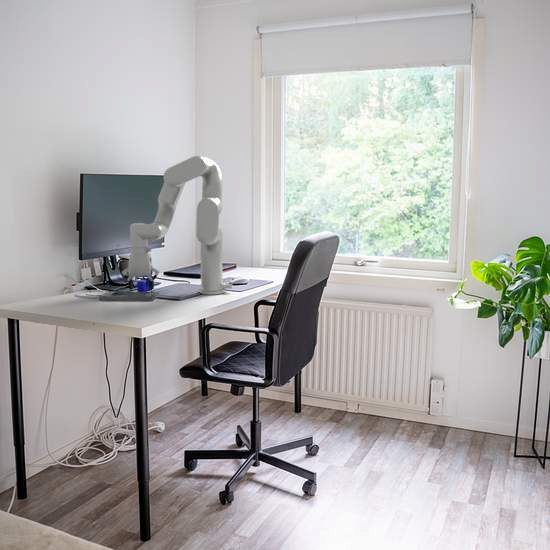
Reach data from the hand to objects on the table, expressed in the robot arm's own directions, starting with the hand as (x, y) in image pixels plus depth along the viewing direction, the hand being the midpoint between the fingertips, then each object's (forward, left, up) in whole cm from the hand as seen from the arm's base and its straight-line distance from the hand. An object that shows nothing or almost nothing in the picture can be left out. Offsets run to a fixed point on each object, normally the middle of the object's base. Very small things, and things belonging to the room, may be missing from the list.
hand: (141, 289), depth 288 cm
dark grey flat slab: (+1, +14, -1) cm, 14 cm away
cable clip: (-1, 0, -2) cm, 2 cm away
